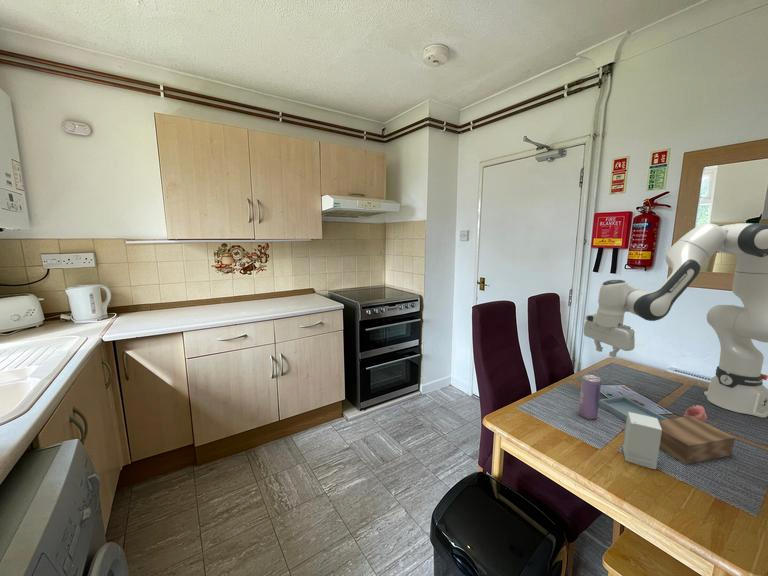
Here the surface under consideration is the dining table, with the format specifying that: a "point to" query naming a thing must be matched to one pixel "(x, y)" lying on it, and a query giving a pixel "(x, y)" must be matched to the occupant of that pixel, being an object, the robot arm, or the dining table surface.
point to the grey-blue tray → (626, 408)
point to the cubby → (694, 440)
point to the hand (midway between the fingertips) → (605, 353)
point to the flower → (696, 413)
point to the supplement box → (642, 440)
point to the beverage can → (589, 396)
